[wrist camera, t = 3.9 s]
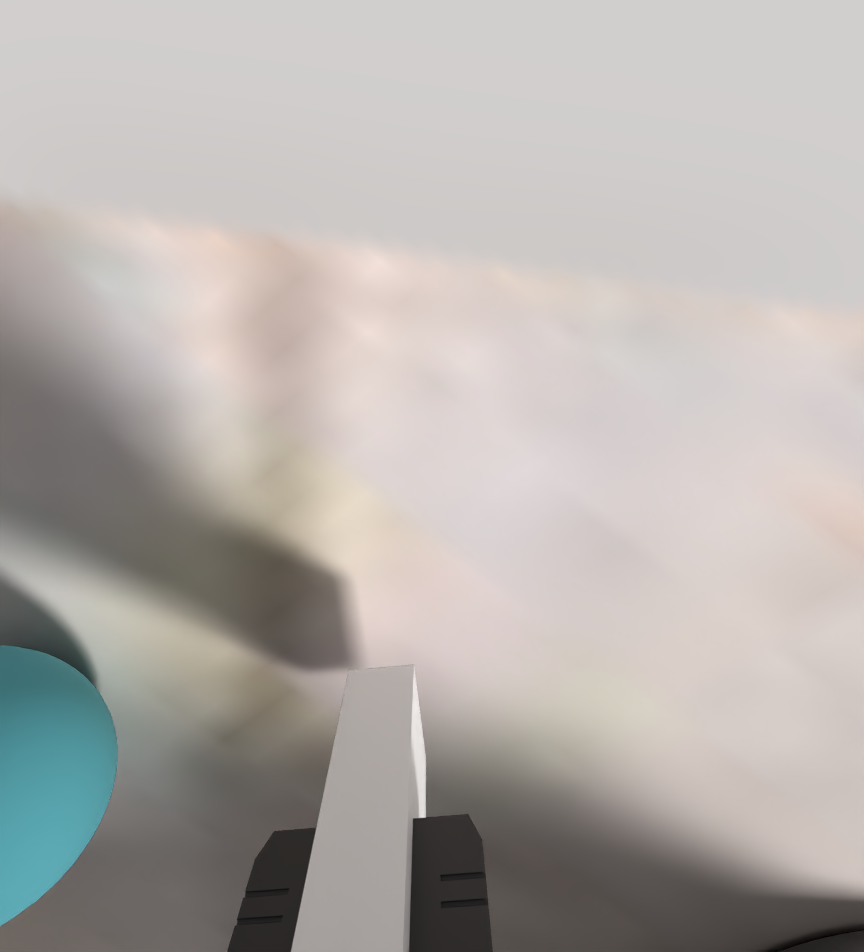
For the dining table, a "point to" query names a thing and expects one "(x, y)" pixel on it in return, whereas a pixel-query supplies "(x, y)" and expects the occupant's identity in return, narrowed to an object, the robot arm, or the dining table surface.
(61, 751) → the ball
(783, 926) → the dining table surface
